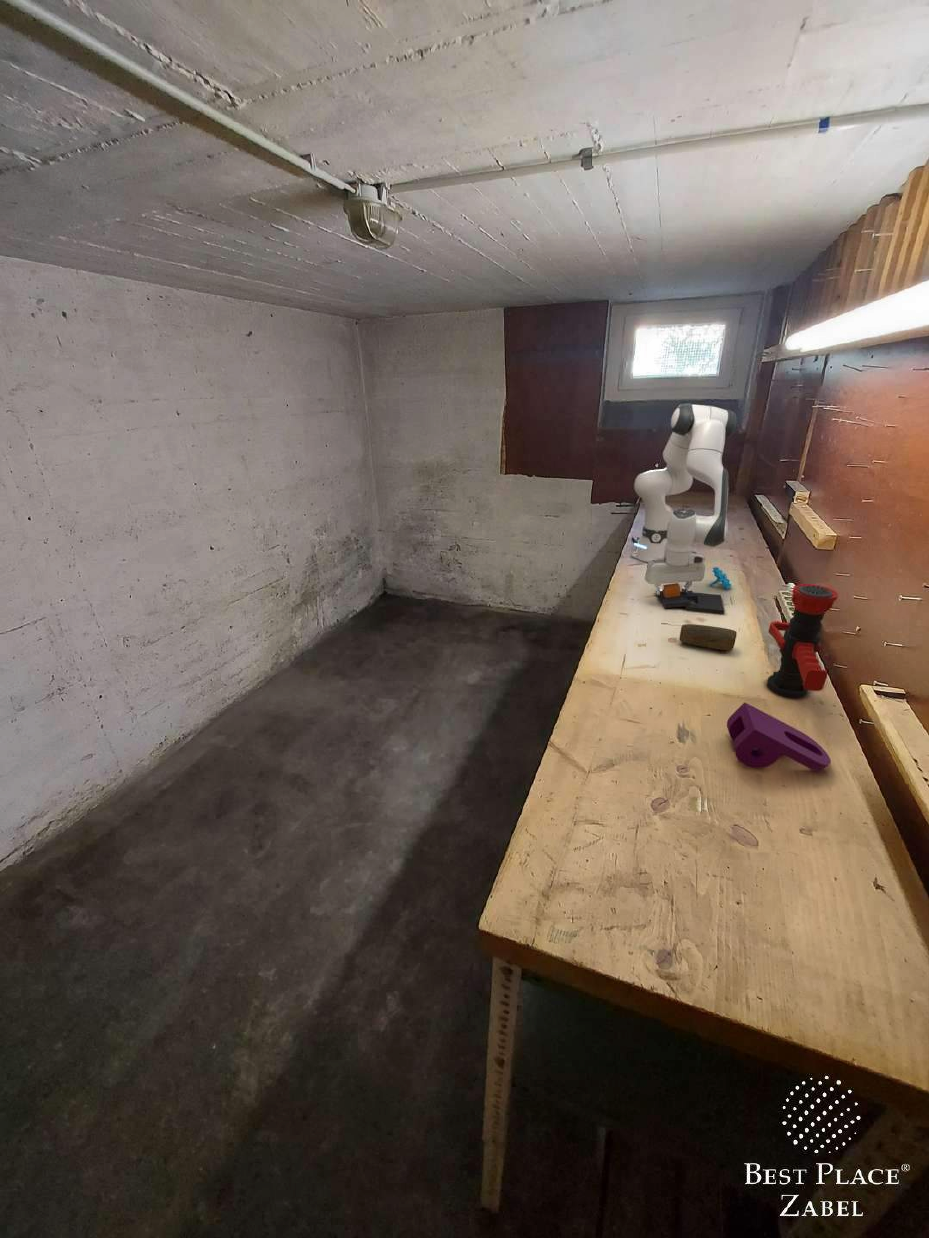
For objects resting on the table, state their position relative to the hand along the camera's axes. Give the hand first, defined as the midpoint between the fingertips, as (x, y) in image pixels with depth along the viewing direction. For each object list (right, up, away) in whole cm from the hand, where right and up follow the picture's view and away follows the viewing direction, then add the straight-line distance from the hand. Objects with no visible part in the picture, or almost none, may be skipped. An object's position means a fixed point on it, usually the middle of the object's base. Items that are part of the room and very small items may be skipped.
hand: (671, 593), depth 174 cm
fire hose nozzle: (+8, -28, -51) cm, 59 cm away
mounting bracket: (-9, -39, -72) cm, 82 cm away
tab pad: (+2, -2, 0) cm, 3 cm away
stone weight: (-2, -18, -28) cm, 34 cm away
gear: (+24, +3, +11) cm, 26 cm away
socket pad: (+10, -4, -2) cm, 11 cm away
